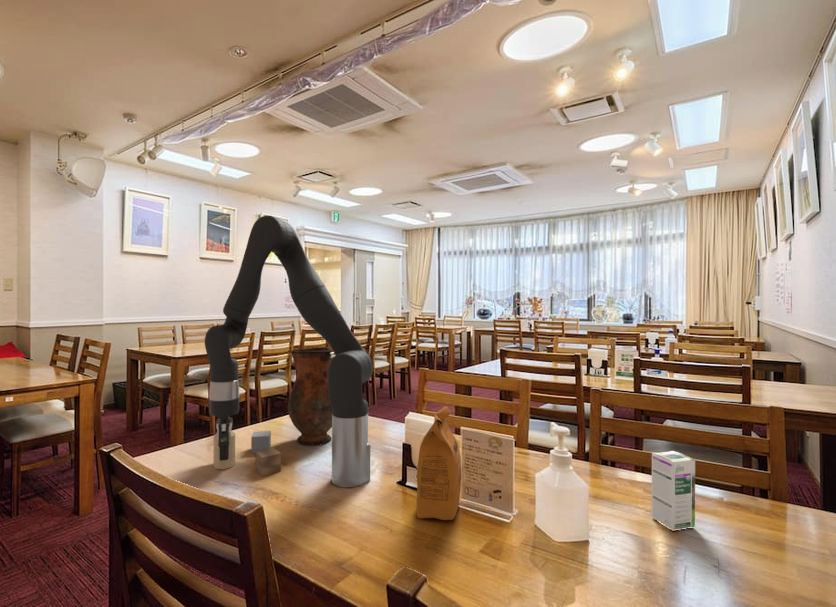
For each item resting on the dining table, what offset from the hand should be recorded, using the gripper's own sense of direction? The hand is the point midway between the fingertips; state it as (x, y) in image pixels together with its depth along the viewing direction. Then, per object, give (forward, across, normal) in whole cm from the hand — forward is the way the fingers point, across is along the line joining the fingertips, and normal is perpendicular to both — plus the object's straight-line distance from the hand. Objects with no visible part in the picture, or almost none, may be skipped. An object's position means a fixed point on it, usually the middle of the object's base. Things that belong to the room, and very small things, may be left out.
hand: (224, 454), depth 117 cm
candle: (+3, 0, 0) cm, 3 cm away
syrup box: (+3, -68, -88) cm, 111 cm away
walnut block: (+3, -8, -11) cm, 14 cm away
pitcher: (+3, +10, -28) cm, 30 cm away
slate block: (+3, +9, -10) cm, 14 cm away
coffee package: (+3, -44, -45) cm, 63 cm away
